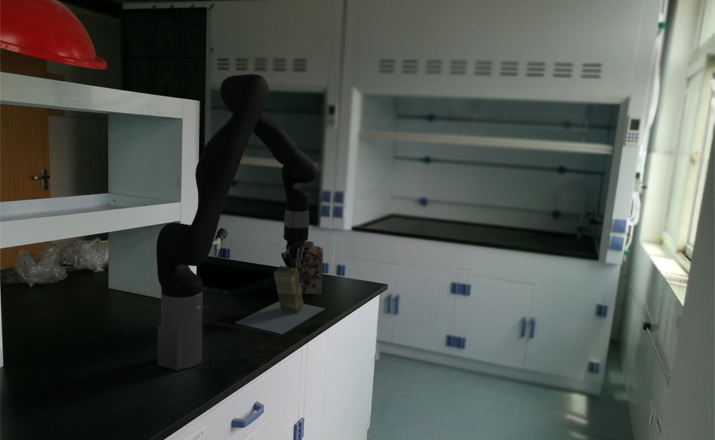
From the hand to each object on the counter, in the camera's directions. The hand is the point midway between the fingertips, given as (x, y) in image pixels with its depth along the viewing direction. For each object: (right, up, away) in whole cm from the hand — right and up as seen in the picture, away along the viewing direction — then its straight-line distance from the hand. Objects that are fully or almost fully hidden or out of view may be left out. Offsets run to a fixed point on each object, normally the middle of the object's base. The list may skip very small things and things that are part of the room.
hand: (293, 279), depth 162 cm
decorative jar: (+1, -7, +25) cm, 26 cm away
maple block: (-1, -9, +1) cm, 9 cm away
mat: (-3, -11, -4) cm, 12 cm away
